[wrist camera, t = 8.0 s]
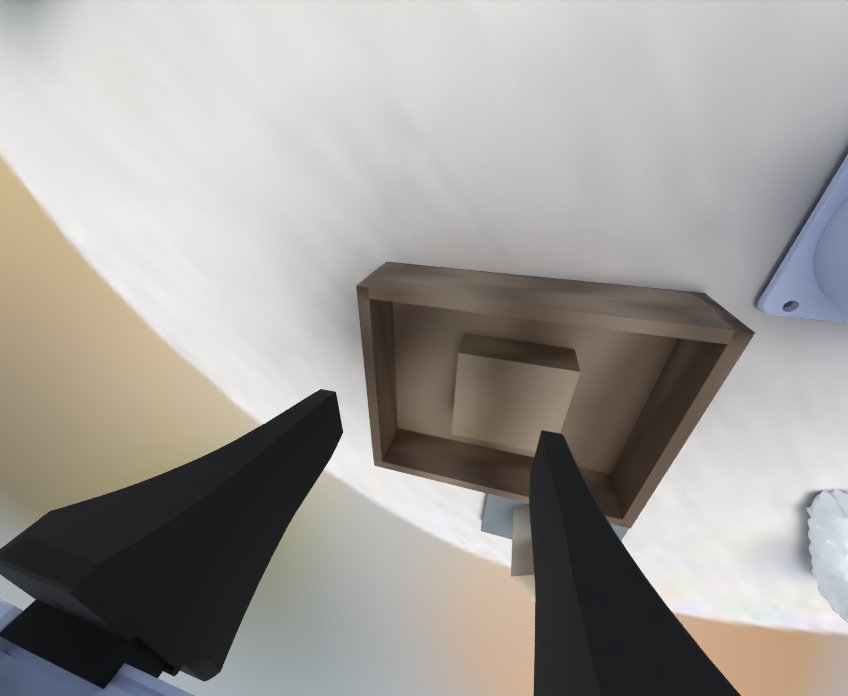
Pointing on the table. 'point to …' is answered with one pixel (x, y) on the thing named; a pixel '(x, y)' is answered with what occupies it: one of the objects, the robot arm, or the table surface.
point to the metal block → (523, 550)
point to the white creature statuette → (830, 547)
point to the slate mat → (501, 517)
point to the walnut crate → (538, 377)
